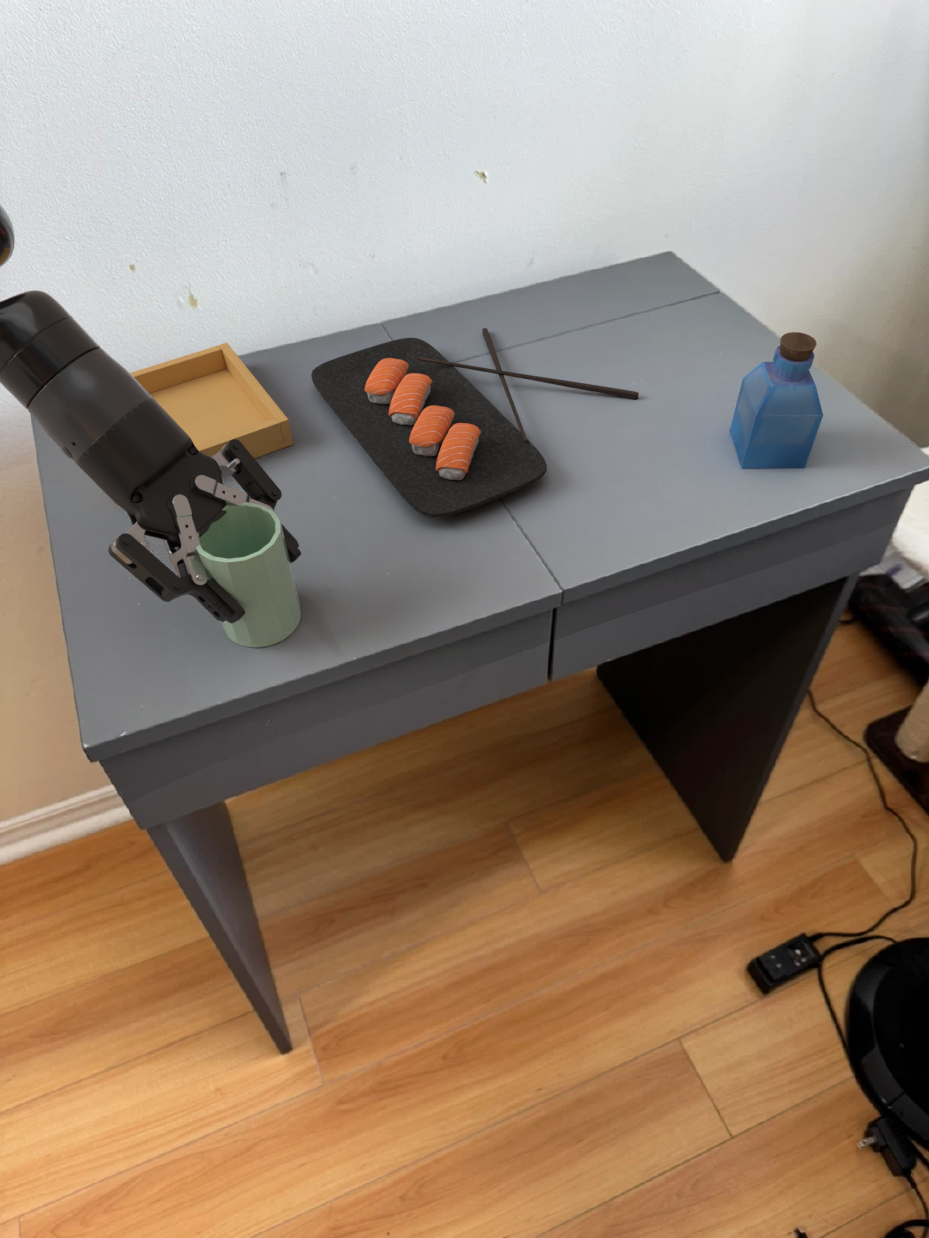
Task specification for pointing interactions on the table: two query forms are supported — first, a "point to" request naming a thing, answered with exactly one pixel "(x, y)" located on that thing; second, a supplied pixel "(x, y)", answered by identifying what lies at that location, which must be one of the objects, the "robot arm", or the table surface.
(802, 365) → the perfume bottle
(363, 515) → the table surface
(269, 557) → the teacup
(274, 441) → the tray
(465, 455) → the sushi plate
